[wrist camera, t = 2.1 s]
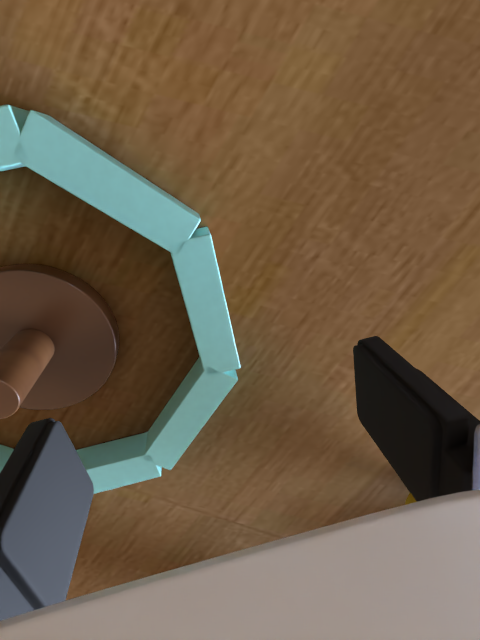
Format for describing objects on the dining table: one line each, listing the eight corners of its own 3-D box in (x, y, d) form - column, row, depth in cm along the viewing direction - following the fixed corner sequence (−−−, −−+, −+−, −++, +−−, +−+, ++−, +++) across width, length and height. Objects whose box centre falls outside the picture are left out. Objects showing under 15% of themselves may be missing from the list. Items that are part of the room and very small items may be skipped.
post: (-77, 283, 17) (-186, 336, 12) (88, 247, 17) (50, 283, 12) (2, 411, 20) (-56, 493, 15) (138, 378, 21) (124, 447, 16)
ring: (-316, 178, 14) (-389, 181, 12) (175, 81, 15) (173, 71, 13) (-47, 506, 23) (-67, 535, 21) (253, 429, 24) (259, 451, 22)
